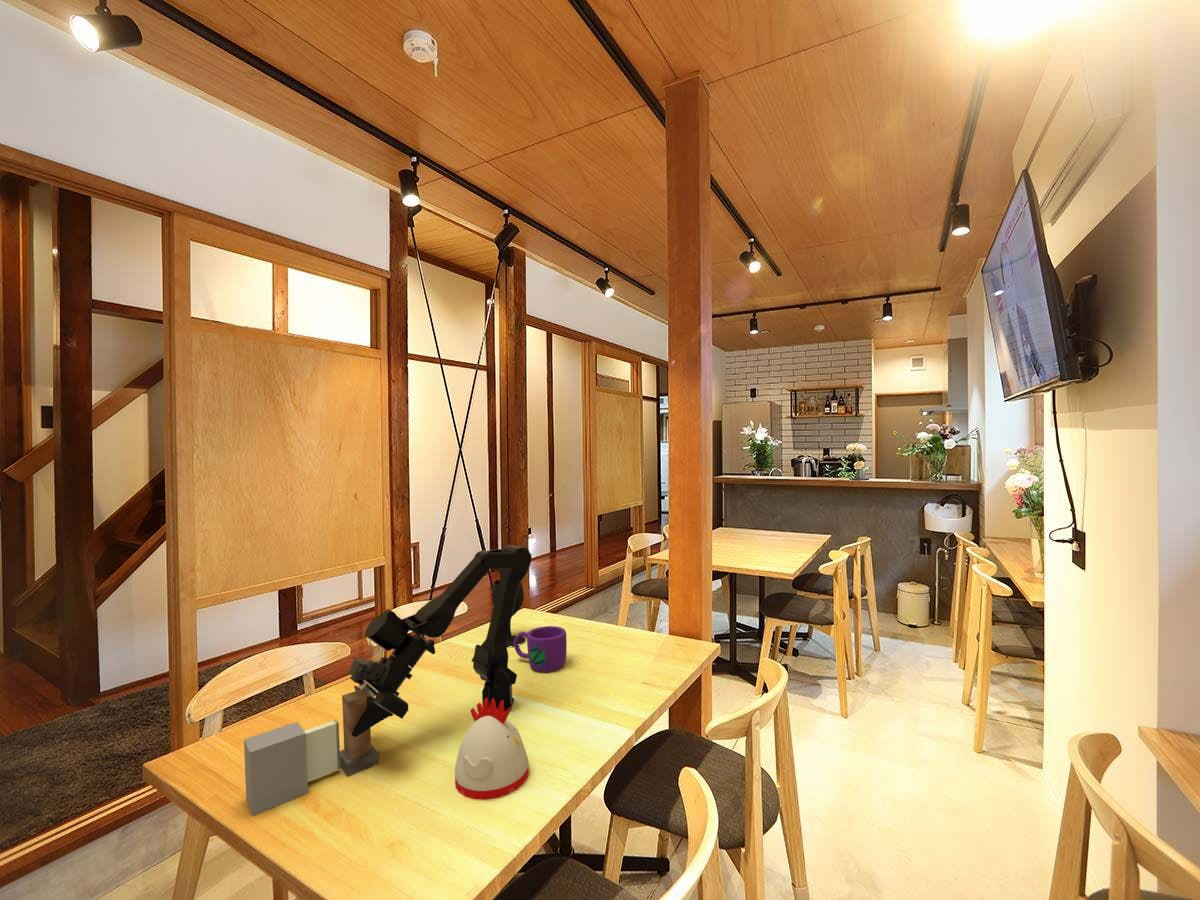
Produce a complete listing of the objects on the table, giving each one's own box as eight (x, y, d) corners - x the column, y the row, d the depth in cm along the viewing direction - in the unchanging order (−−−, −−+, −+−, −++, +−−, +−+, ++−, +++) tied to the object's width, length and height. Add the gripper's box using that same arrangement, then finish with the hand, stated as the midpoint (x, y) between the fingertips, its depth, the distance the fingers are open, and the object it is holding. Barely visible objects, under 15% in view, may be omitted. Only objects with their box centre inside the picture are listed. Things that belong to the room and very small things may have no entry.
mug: (574, 661, 157) (573, 628, 157) (554, 677, 147) (552, 641, 147) (525, 653, 165) (524, 621, 165) (503, 668, 155) (501, 633, 155)
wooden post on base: (368, 752, 113) (365, 686, 113) (378, 763, 108) (375, 694, 108) (338, 764, 109) (335, 695, 109) (347, 776, 104) (344, 705, 104)
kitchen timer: (509, 805, 94) (506, 720, 94) (440, 794, 98) (437, 712, 98) (539, 760, 108) (536, 685, 108) (477, 752, 111) (475, 680, 111)
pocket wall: (299, 778, 104) (297, 721, 104) (307, 793, 100) (305, 733, 100) (246, 799, 98) (243, 739, 98) (252, 816, 94) (249, 752, 94)
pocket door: (338, 765, 107) (336, 719, 107) (340, 768, 106) (338, 722, 106) (293, 783, 101) (291, 735, 101) (295, 787, 100) (293, 738, 100)
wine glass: (511, 649, 169) (508, 586, 169) (486, 644, 174) (484, 583, 174) (532, 639, 177) (529, 579, 177) (508, 634, 183) (506, 576, 183)
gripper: (358, 632, 118) (305, 698, 111) (390, 653, 104) (331, 731, 97) (395, 657, 124) (346, 722, 116) (430, 681, 110) (377, 757, 102)
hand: (349, 732), depth 108 cm, fingers closed on wooden post on base, 4 cm apart
